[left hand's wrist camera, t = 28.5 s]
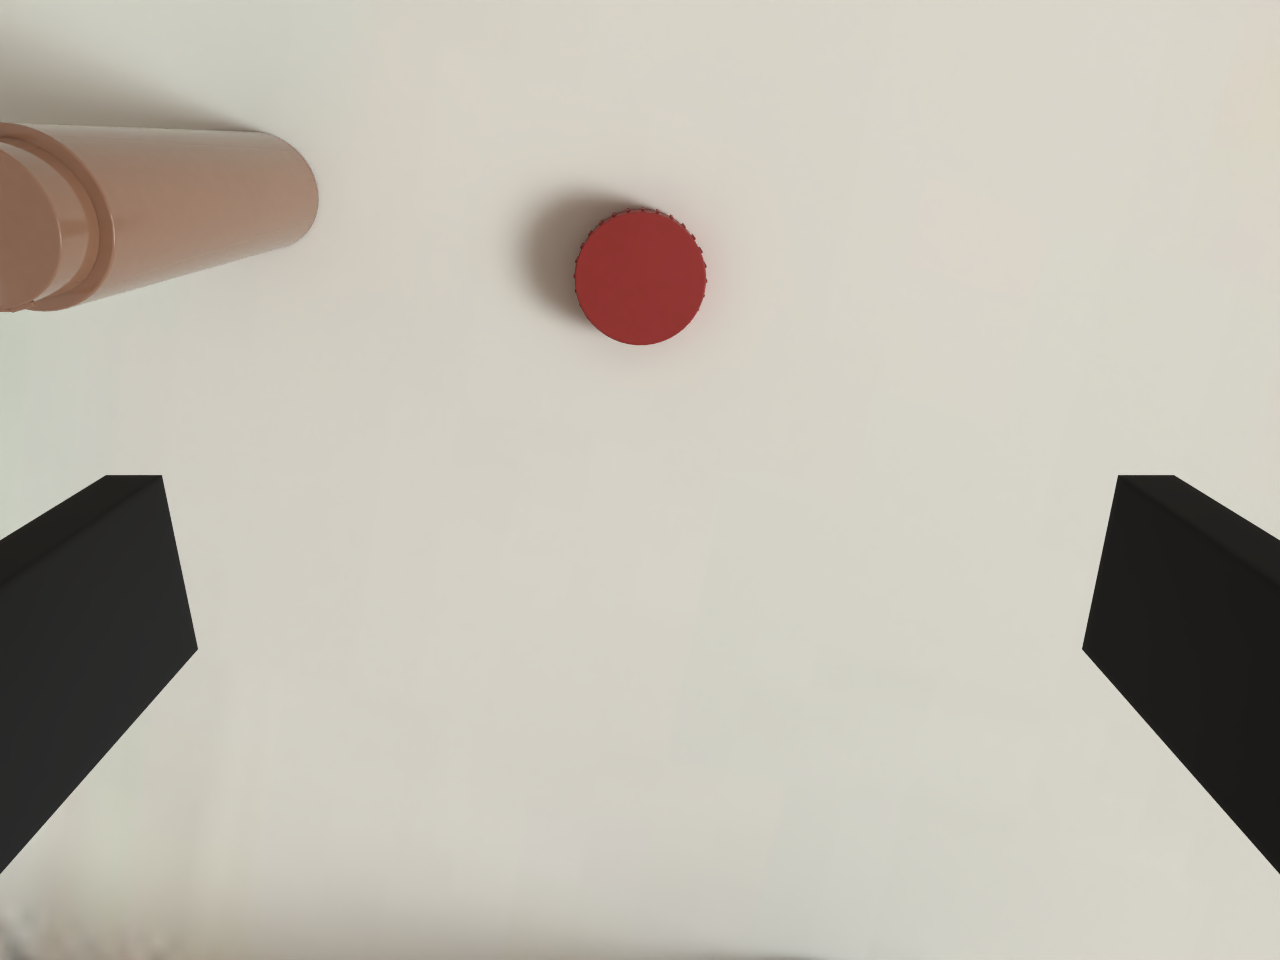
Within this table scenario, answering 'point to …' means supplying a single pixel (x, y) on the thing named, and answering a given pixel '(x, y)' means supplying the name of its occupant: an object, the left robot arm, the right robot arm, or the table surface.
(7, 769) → the left robot arm
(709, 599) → the table surface
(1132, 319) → the table surface
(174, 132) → the jar
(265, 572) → the table surface
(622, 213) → the lid
